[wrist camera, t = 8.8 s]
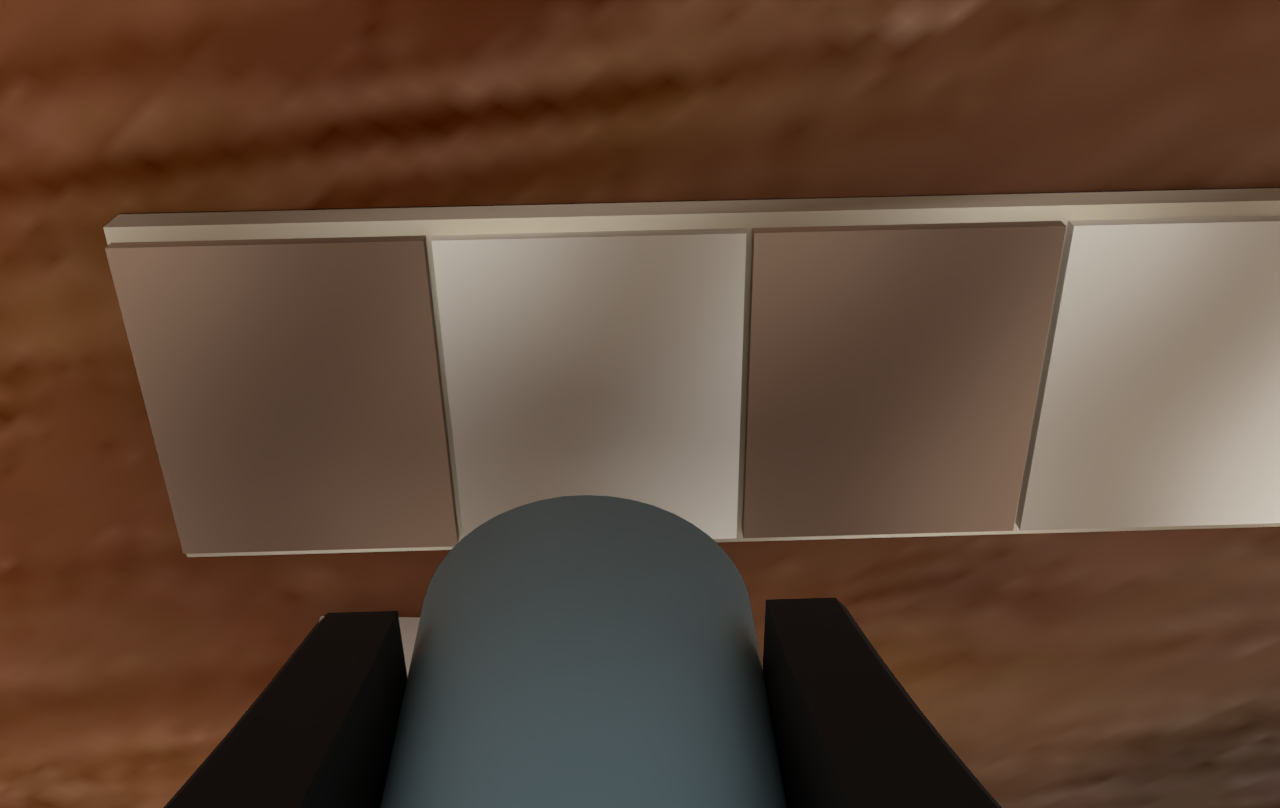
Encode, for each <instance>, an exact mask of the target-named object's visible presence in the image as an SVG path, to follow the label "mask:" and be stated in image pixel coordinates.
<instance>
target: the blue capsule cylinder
mask: <svg viewBox="0 0 1280 808" xmlns="http://www.w3.org/2000/svg"><path fill="white" fill-rule="evenodd" d="M380 808H787V806H786V800H785V795H784V789H783V783H782V778H781V772H780V767H779V761H778V755H777V750H776V744H775V738H774V733H773V727H772V722H771V716H770V710H769V705H768V699H767V693H766V688H765V682H764V677H763V671H762V665H761V660H760V654H759V648H758V643H757V637H756V632H755V626H754V620H753V615H752V609H751V604H750V598H749V594H748V591H747V588H746V586H745V583H744V580H743V578H742V576H741V575H740V573H739V571H738V569H737V567H736V566H735V564H734V563H733V561H732V560H731V559H730V557H729V556H728V555H727V554H726V552H725V551H724V550H723V549H722V548H721V547H720V546H719V545H718V544H717V543H716V542H715V541H714V540H713V539H712V538H711V537H710V536H709V535H707V534H706V533H705V532H703V531H702V530H700V529H699V528H698V527H696V526H695V525H693V524H692V523H690V522H688V521H686V520H685V519H683V518H681V517H679V516H677V515H675V514H674V513H671V512H669V511H666V510H664V509H661V508H659V507H656V506H653V505H650V504H646V503H642V502H639V501H635V500H631V499H625V498H618V497H612V496H597V495H577V496H562V497H556V498H551V499H545V500H539V501H536V502H532V503H529V504H525V505H522V506H519V507H516V508H514V509H511V510H509V511H506V512H504V513H502V514H499V515H497V516H495V517H494V518H492V519H490V520H488V521H487V522H485V523H483V524H481V525H480V526H478V527H477V528H475V529H474V530H473V531H472V532H470V533H469V534H468V535H466V536H465V537H464V538H462V539H461V540H460V541H459V542H458V543H457V544H456V545H455V546H454V547H453V548H452V549H451V550H450V551H449V553H448V554H447V555H446V557H445V558H444V559H443V561H442V562H441V563H440V565H439V566H438V567H437V569H436V571H435V573H434V575H433V577H432V579H431V581H430V583H429V586H428V589H427V592H426V595H425V598H424V602H423V607H422V611H421V616H420V621H419V626H418V630H417V635H416V640H415V645H414V649H413V654H412V659H411V664H410V668H409V673H408V678H407V683H406V687H405V692H404V697H403V702H402V706H401V711H400V716H399V721H398V725H397V730H396V735H395V740H394V744H393V749H392V754H391V759H390V763H389V768H388V773H387V778H386V782H385V787H384V792H383V797H382V801H381V806H380Z"/></svg>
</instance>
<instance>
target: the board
mask: <svg viewBox="0 0 1280 808" xmlns="http://www.w3.org/2000/svg"><path fill="white" fill-rule="evenodd" d="M103 228H104V232H105V236H106V240H107V244H108V246H107V247H106V248H105V251H106V255H107V259H108V263H109V266H110V270H111V274H112V278H113V282H114V286H115V290H116V294H117V298H118V301H119V305H120V309H121V313H122V317H123V321H124V325H125V329H126V333H127V336H128V340H129V344H130V348H131V352H132V356H133V360H134V364H135V368H136V372H137V375H138V379H139V383H140V387H141V391H142V395H143V399H144V403H145V407H146V410H147V414H148V418H149V422H150V426H151V430H152V434H153V438H154V442H155V446H156V449H157V453H158V457H159V461H160V465H161V469H162V473H163V477H164V481H165V484H166V488H167V492H168V496H169V500H170V504H171V508H172V512H173V516H174V520H175V523H176V527H177V531H178V535H179V539H180V543H181V547H182V551H183V554H187V557H212V556H247V555H283V554H318V553H354V552H390V551H425V550H451V549H452V548H453V547H454V546H455V545H456V544H457V543H458V542H459V541H460V540H461V539H462V538H464V537H465V536H466V535H468V534H469V533H470V532H472V531H473V530H474V529H475V528H477V527H478V526H480V525H481V524H483V523H485V522H487V521H488V520H490V519H492V518H494V517H495V516H497V515H499V514H502V513H504V512H506V511H509V510H511V509H514V508H516V507H519V506H522V505H525V504H529V503H532V502H536V501H539V500H545V499H551V498H556V497H562V496H577V495H597V496H612V497H618V498H625V499H631V500H635V501H639V502H642V503H646V504H650V505H653V506H656V507H659V508H661V509H664V510H666V511H669V512H671V513H674V514H675V515H677V516H679V517H681V518H683V519H685V520H686V521H688V522H690V523H692V524H693V525H695V526H696V527H698V528H699V529H700V530H702V531H703V532H705V533H706V534H707V535H709V536H710V537H711V538H712V539H713V540H714V541H715V542H746V541H781V540H817V539H852V538H888V537H924V536H959V535H995V534H1030V533H1066V532H1102V531H1137V530H1173V529H1208V528H1244V527H1280V188H1258V189H1214V190H1170V191H1126V192H1082V193H1038V194H994V195H950V196H906V197H862V198H818V199H774V200H730V201H686V202H642V203H599V204H555V205H511V206H467V207H423V208H379V209H335V210H291V211H247V212H203V213H159V214H119V215H118V216H116V217H115V218H114V219H113V220H112V221H110V222H109V223H108V224H107V225H106V226H104V227H103Z"/></svg>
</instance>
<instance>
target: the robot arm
mask: <svg viewBox="0 0 1280 808" xmlns="http://www.w3.org/2000/svg"><path fill="white" fill-rule="evenodd" d="M763 677H764V682H765V688H766V693H767V699H768V705H769V710H770V716H771V722H772V727H773V733H774V738H775V744H776V750H777V755H778V761H779V767H780V772H781V778H782V783H783V789H784V795H785V800H786V806H787V808H1002V807H1001V806H1000V805H999V804H998V803H997V802H996V800H995V799H994V798H993V797H992V796H991V795H990V794H989V793H988V791H987V790H986V789H985V788H984V787H983V786H982V784H981V783H980V782H979V781H978V780H977V778H976V777H975V776H974V775H973V774H972V772H971V771H970V770H969V769H968V768H967V766H966V765H965V764H964V763H963V762H962V760H961V759H960V758H959V757H958V756H957V754H956V753H955V752H954V751H953V750H952V748H951V747H950V746H949V745H948V744H947V742H946V741H945V740H944V739H943V738H942V736H941V735H940V734H939V733H938V732H937V730H936V729H935V728H934V727H933V725H932V724H931V723H930V722H929V720H928V719H927V718H926V717H925V715H924V714H923V713H922V711H921V710H920V709H919V708H918V706H917V705H916V704H915V702H914V701H913V700H912V699H911V697H910V696H909V695H908V693H907V692H906V691H905V689H904V688H903V687H902V685H901V684H900V683H899V681H898V680H897V679H896V677H895V676H894V675H893V673H892V672H891V671H890V669H889V668H888V667H887V665H886V664H885V663H884V661H883V660H882V658H881V657H880V656H879V654H878V653H877V652H876V650H875V649H874V647H873V646H872V645H871V643H870V642H869V640H868V639H867V637H866V636H865V635H864V633H863V632H862V630H861V629H860V627H859V626H858V625H857V623H856V622H855V620H854V619H853V617H852V616H851V614H850V613H849V611H848V610H847V608H846V607H845V606H844V605H842V604H841V603H840V602H839V601H838V600H837V599H836V598H811V599H778V600H766V613H765V633H764V654H763ZM406 683H407V671H406V664H405V658H404V651H403V644H402V637H401V631H400V624H399V617H398V611H381V612H348V613H328V614H327V615H326V616H325V617H323V618H322V619H321V620H320V621H319V622H318V623H317V624H316V626H315V627H314V628H313V629H312V631H311V632H310V633H309V634H308V636H307V637H306V638H305V639H304V641H303V642H302V643H301V644H300V646H299V647H298V648H297V649H296V651H295V652H294V653H293V654H292V656H291V657H290V658H289V659H288V661H287V662H286V663H285V664H284V666H283V667H282V668H281V669H280V671H279V672H278V673H277V674H276V676H275V677H274V678H273V679H272V681H271V682H270V683H269V684H268V686H267V687H266V688H265V689H264V691H263V692H262V693H261V694H260V696H259V697H258V698H257V699H256V700H255V702H254V703H253V704H252V705H251V706H250V708H249V709H248V710H247V711H246V713H245V714H244V715H243V716H242V717H241V719H240V720H239V721H238V722H237V723H236V725H235V726H234V727H233V728H232V730H231V731H230V732H229V733H228V734H227V735H226V737H225V738H224V739H223V740H222V741H221V742H220V743H219V745H218V746H217V747H216V748H215V749H214V750H213V752H212V753H211V754H210V755H209V756H208V757H207V758H206V760H205V761H204V762H203V763H202V764H201V765H200V767H199V768H198V769H197V770H196V771H195V772H194V774H193V775H192V776H191V777H190V778H189V779H188V780H187V782H186V783H185V784H184V785H183V786H182V787H181V789H180V790H179V791H178V792H177V793H176V794H175V795H174V797H173V798H172V799H171V800H170V801H169V802H168V803H167V804H166V806H165V807H164V808H380V806H381V801H382V797H383V792H384V787H385V782H386V778H387V773H388V768H389V763H390V759H391V754H392V749H393V744H394V740H395V735H396V730H397V725H398V721H399V716H400V711H401V706H402V702H403V697H404V692H405V687H406Z"/></svg>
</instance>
